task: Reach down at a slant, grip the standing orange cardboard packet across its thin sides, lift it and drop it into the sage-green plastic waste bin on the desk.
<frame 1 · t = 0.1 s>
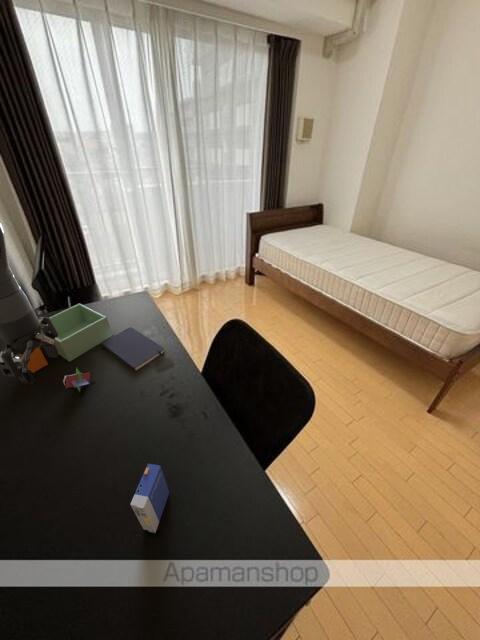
hand: (42, 368, 67), 21 cm above the table, tool pointing down, fingers open, 8 cm apart
packet: (38, 366, 97), on the table
notebook: (133, 349, 104), on the table
geometric puzzle: (81, 387, 89), on the table
bin: (78, 339, 108), on the table
walkman: (157, 510, 61), on the table
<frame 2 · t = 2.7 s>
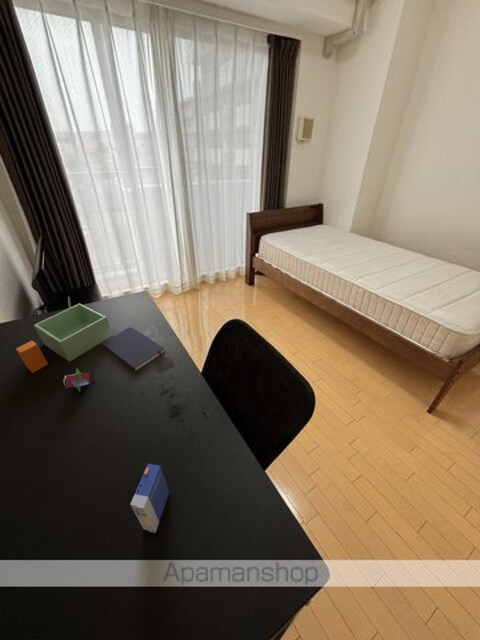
nothing on the table moved.
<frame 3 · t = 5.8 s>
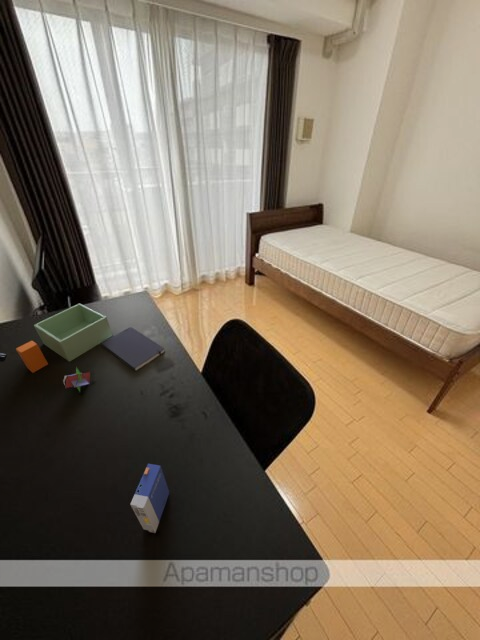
nothing on the table moved.
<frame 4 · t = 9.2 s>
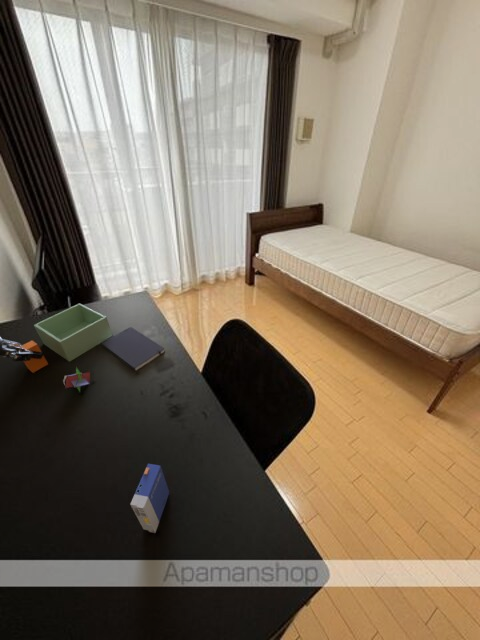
hand: (38, 353, 95), 5 cm above the table, tool tilted 45°, fingers closed on packet, 3 cm apart
packet: (38, 366, 97), on the table, touching gripper
everything else where it was.
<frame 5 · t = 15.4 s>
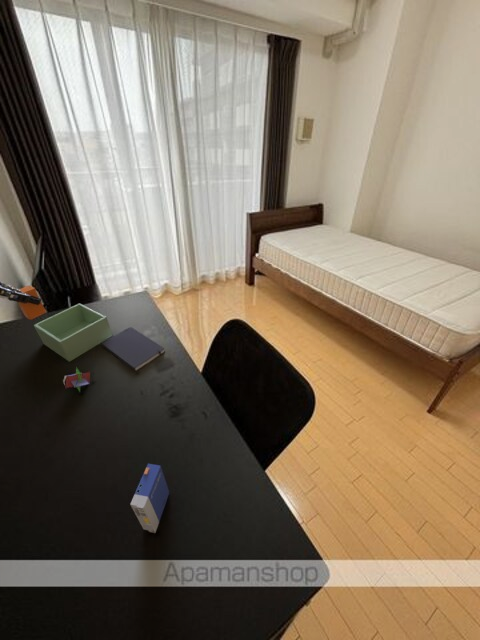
hand: (36, 299, 90), 22 cm above the table, tool tilted 45°, fingers closed on packet, 3 cm apart
packet: (35, 314, 92), point 17 cm above the table, touching gripper
everything else where it was.
when the fingers open (6 cm above the table, at t = 21.7 s): packet stays where it is, resting on bin.
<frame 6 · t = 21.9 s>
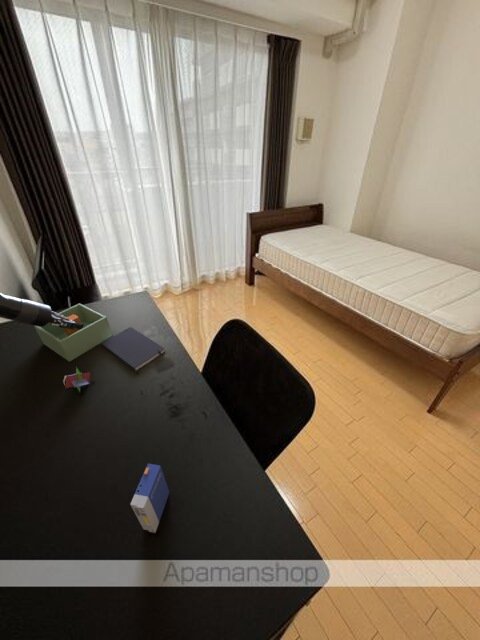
hand: (77, 324, 106), 6 cm above the table, tool tilted 45°, fingers open, 5 cm apart
packet: (78, 338, 108), point 1 cm above the table, touching bin
everything else where it was.
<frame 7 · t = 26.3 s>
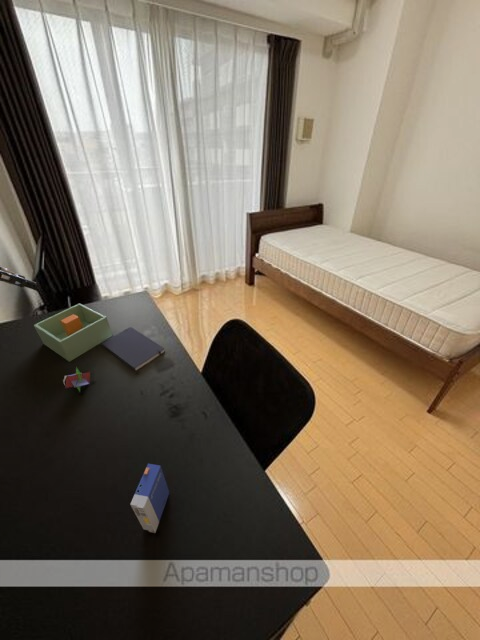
hand: (30, 283, 89), 27 cm above the table, tool tilted 45°, fingers open, 8 cm apart
nothing on the table moved.
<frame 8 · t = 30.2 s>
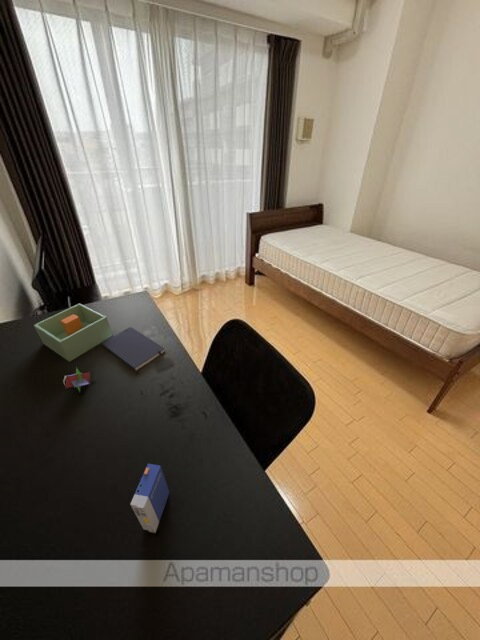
nothing on the table moved.
at the end: packet inside the target area in the bin (0.0 cm from its centre), point 0.8 cm above the bin's base; the gripper is holding nothing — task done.
